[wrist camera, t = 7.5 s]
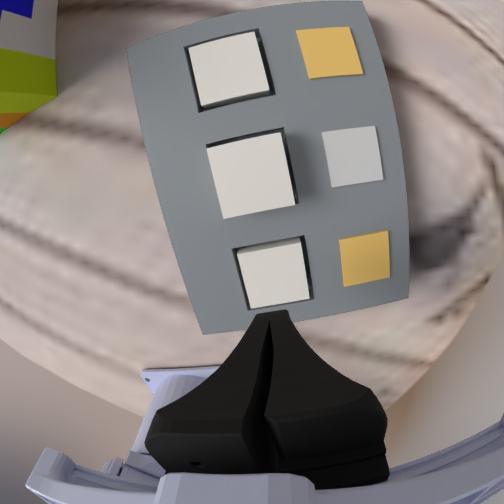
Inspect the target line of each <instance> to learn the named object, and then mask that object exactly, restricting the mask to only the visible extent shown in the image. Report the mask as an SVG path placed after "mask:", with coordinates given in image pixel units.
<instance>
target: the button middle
mask: <svg viewBox="0 0 504 504" xmlns="http://www.w3.org/2000/svg"><path fill="white" fill-rule="evenodd" d="M207 154H208V158H209V162H210V166H211V170H212V175H213V179H214V183H215V187H216V191H217V195H218V199H219V203H220V207H221V211H222V215H223V219H226V218H231V217H236V216H241V215H246V214H251V213H256V212H261V211H266V210H271V209H276V208H281V207H287V206H292V205H295V201H294V196H293V190H292V185H291V180H290V175H289V170H288V165H287V160H286V156H285V151H284V146H283V142H282V137H281V132H279V133H274V134H269V135H263V136H259V137H254V138H249V139H244V140H240V141H236V142H231V143H227V144H223V145H219V146H215V147H211V148H207Z"/></svg>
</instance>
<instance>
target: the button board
mask: <svg viewBox="0 0 504 504" xmlns="http://www.w3.org/2000/svg"><path fill="white" fill-rule="evenodd" d="M250 32H254V33H255V36H256V40H257V43H258V47H259V51H260V55H261V58H262V62H263V66H264V70H265V74H266V78H267V82H268V86H269V96H263V97H258V98H253V99H249V100H244V101H240V102H235V103H231V104H227V105H223V106H219V107H215V108H211V109H206V108H204V107H203V106H201V102H200V98H199V94H198V89H197V85H196V80H195V76H194V71H193V67H192V62H191V58H190V53H189V49H188V48H190V47H193V46H197V45H200V44H204V43H207V42H211V41H215V40H219V39H222V38H227V37H231V36H235V35H240V34H245V33H250ZM126 51H127V58H128V64H129V70H130V76H131V81H132V87H133V92H134V97H135V102H136V107H137V112H138V117H139V121H140V126H141V130H142V135H143V139H144V144H145V148H146V152H147V156H148V160H149V164H150V168H151V172H152V176H153V180H154V184H155V187H156V191H157V195H158V199H159V202H160V206H161V209H162V213H163V216H164V220H165V223H166V227H167V230H168V233H169V237H170V240H171V243H172V246H173V249H174V253H175V256H176V259H177V262H178V265H179V268H180V271H181V274H182V277H183V280H184V283H185V286H186V289H187V292H188V295H189V298H190V301H191V303H192V306H193V309H194V312H195V315H196V317H197V320H198V323H199V326H200V328H201V331H202V334H203V335H205V334H214V333H223V332H231V331H238V330H246V329H248V328H249V326H250V324H251V322H252V320H253V319H254V317H255V315H256V314H259V313H265V312H271V311H277V310H283V309H286V310H288V311H289V316H290V318H291V320H292V322H298V321H303V320H309V319H314V318H320V317H325V316H330V315H335V314H340V313H345V312H350V311H355V310H359V309H364V308H368V307H373V306H377V305H382V304H386V303H390V302H394V301H398V300H402V299H406V298H408V296H409V221H408V205H407V192H406V181H405V172H404V164H403V156H402V149H401V143H400V137H399V131H398V125H397V120H396V114H395V110H394V105H393V100H392V96H391V91H390V87H389V83H388V79H387V75H386V71H385V68H384V64H383V61H382V57H381V54H380V50H379V47H378V44H377V41H376V38H375V35H374V32H373V29H372V26H371V23H370V20H369V18H368V15H367V12H366V10H365V7H364V5H363V2H362V1H317V2H303V3H292V4H283V5H276V6H269V7H262V8H256V9H251V10H245V11H240V12H236V13H231V14H227V15H223V16H218V17H215V18H211V19H207V20H203V21H200V22H196V23H193V24H190V25H187V26H183V27H180V28H177V29H174V30H171V31H169V32H166V33H163V34H160V35H158V36H155V37H152V38H150V39H147V40H145V41H142V42H140V43H138V44H135V45H133V46H131V47H129V48H126ZM279 132H281V137H282V142H283V146H284V151H285V156H286V160H287V165H288V170H289V175H290V180H291V185H292V190H293V196H294V201H295V205H292V206H287V207H281V208H276V209H271V210H266V211H261V212H256V213H251V214H246V215H241V216H236V217H231V218H226V219H223V215H222V211H221V207H220V203H219V199H218V195H217V191H216V187H215V183H214V179H213V175H212V170H211V166H210V162H209V158H208V154H207V148H211V147H215V146H219V145H223V144H227V143H231V142H236V141H240V140H244V139H249V138H254V137H259V136H263V135H269V134H274V133H279ZM297 236H299V238H300V242H301V247H302V253H303V259H304V265H305V271H306V278H307V284H308V291H309V298H310V299H305V300H299V301H294V302H288V303H282V304H276V305H270V306H264V307H258V308H251V307H250V303H249V299H248V295H247V291H246V288H245V284H244V280H243V276H242V272H241V268H240V264H239V260H238V256H237V253H238V250H239V247H243V246H248V245H253V244H259V243H264V242H270V241H275V240H280V239H286V238H291V237H297Z"/></svg>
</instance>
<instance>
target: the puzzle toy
mask: <svg viewBox="0 0 504 504" xmlns="http://www.w3.org/2000/svg"><path fill="white" fill-rule="evenodd" d="M57 7H58V0H0V133H1V132H3V131H4V130H5V129H7V128H8V127H9V126H11V125H12V124H14V123H15V122H17V121H18V120H20V119H21V118H23V117H24V116H26V115H27V114H29V113H30V112H32V111H33V110H35V109H37V108H38V107H40V106H41V105H43V104H45V103H47V102H48V101H50V100H52V99H53V98H55V97H57V86H56V56H55V48H56V20H57Z"/></svg>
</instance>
